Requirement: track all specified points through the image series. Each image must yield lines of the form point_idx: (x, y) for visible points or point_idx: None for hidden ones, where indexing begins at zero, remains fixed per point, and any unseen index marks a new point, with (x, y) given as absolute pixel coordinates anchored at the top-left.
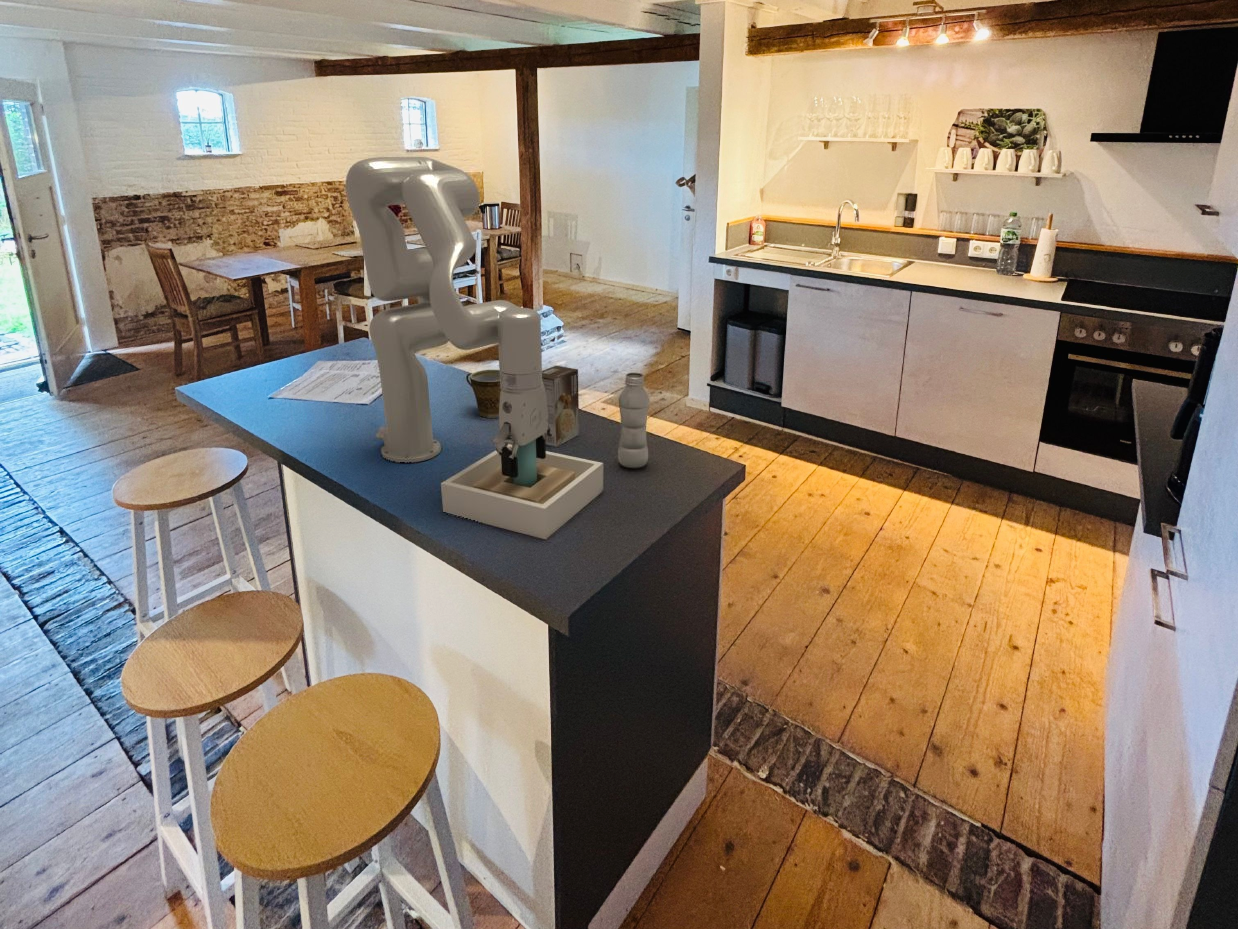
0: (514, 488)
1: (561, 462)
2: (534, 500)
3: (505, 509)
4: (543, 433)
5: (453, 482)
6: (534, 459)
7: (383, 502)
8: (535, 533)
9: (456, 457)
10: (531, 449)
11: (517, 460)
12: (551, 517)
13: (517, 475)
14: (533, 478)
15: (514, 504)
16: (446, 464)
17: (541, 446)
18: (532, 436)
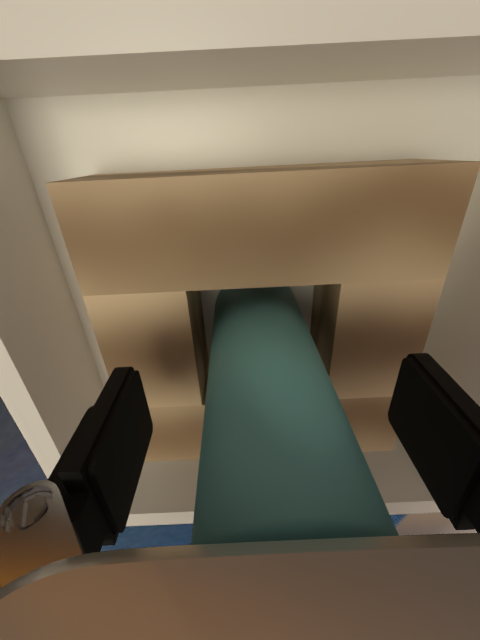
0: (371, 334)
1: (16, 314)
2: (475, 181)
3: None
4: (131, 565)
5: (421, 493)
6: (276, 377)
7: (393, 519)
8: None
9: (144, 536)
10: (321, 450)
11: (478, 429)
12: None
13: (421, 357)
14: (274, 314)
15: None
16: (185, 532)
17: (113, 436)
18: (449, 629)
